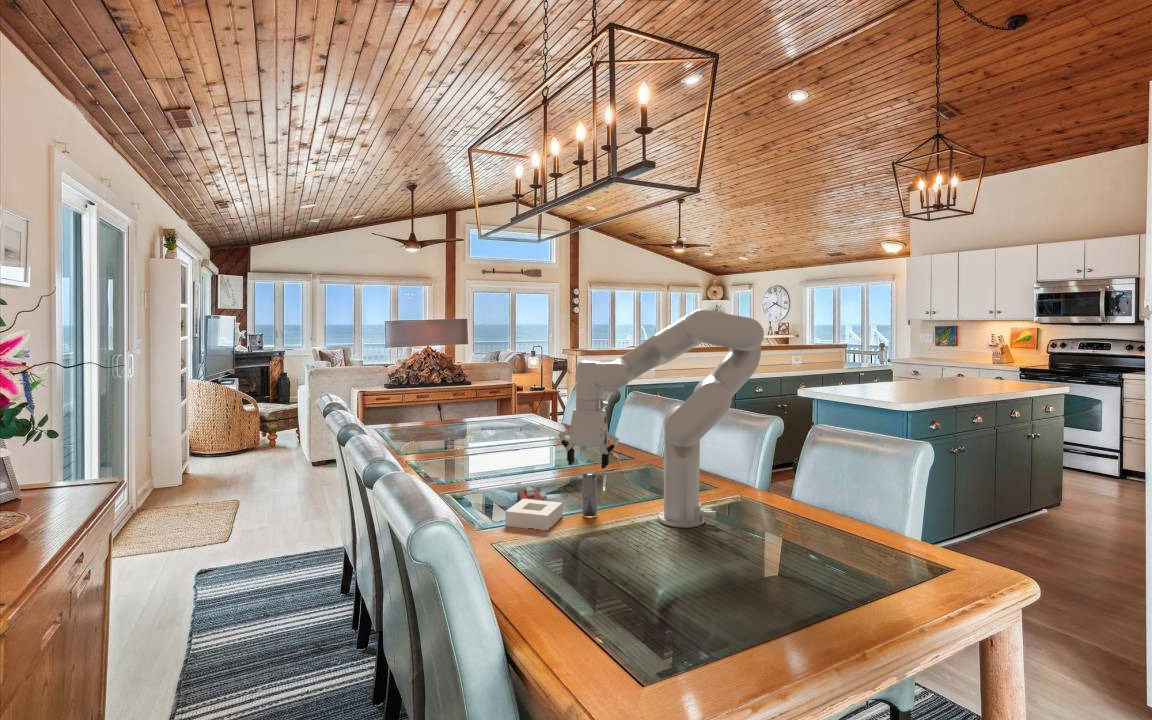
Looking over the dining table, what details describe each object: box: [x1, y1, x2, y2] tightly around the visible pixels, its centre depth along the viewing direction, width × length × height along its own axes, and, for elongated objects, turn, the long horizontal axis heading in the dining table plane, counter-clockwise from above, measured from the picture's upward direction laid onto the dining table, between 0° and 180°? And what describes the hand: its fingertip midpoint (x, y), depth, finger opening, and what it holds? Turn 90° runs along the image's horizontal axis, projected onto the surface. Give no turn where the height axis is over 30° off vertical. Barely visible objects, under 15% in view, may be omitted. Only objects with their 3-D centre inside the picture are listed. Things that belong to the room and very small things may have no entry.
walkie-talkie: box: [516, 486, 548, 503], centre depth 183 cm, size 9×4×20 cm
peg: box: [582, 471, 598, 516], centre depth 168 cm, size 4×4×12 cm
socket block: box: [504, 499, 564, 531], centre depth 163 cm, size 12×12×4 cm
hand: (587, 465), depth 167 cm, fingers open, 9 cm apart
